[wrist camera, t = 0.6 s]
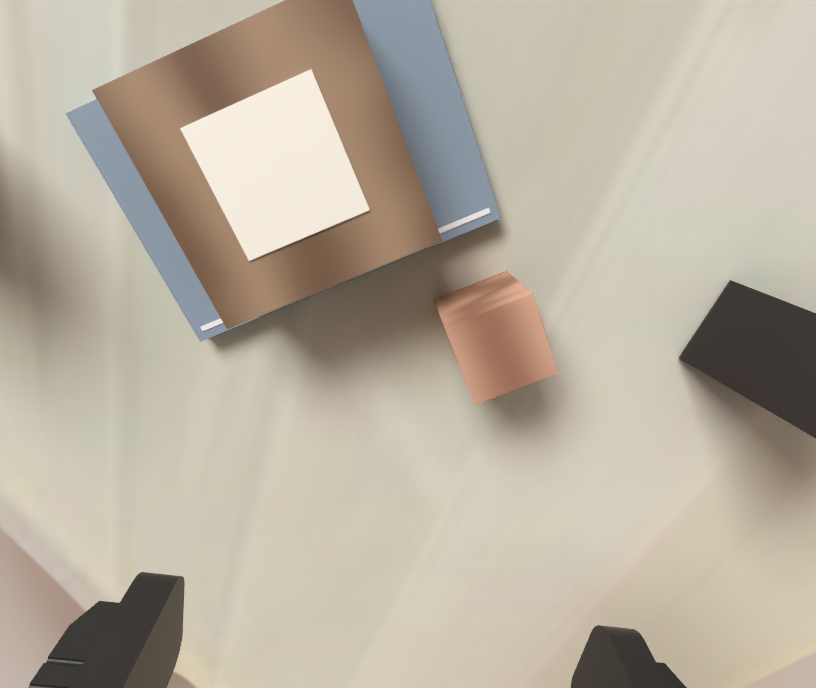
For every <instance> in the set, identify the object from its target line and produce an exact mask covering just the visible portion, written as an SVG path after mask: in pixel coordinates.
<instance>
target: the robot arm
mask: <svg viewBox="0 0 816 688" xmlns="http://www.w3.org/2000/svg"><path fill="white" fill-rule="evenodd" d="M183 607H184V578H183V577H182V576H173V575H164V574H155V573H146V572H141V573H139V574H138V575H137V576H136V578H135V579H134V580H133V582H132V584H131V585H130V587H129V589H128V590H127V592H126V594H125V595H124V597H123V599H122V600H121V602H120V603H114V602H105V601H99V602H98V603H96V604H95V605H94V606H93V607H91V608H90V609H89V610H88V611H87V612H85V613H84V614H83V615H82V616H80V617H79V618H78V619H77V620H76V621H74V622H73V623H72V624H71V625H70V626H69V627H68V628H67V630H66V631H65V633H64V634H63V636H62V637H61V639H60V640H59V642H58V643H57V645H56V646H55V648H54V649H53V651H52V652H51V653H50V655H49V656H48V660H47V662H46V663H44V664H43V665H42V666H41V668H40V669H39V671H38V672H37V674H36V675H35V677H34V678H33V680H32V681H31V683H30V686H29V688H166V687H167V685H168V682H169V680H170V678H171V675H172V673H173V670H174V668H175V665H176V662H177V658H178V655H179V651H180V646H181V641H182V633H183ZM571 688H686V687H685V686H684V684H683V683H682V682H681V681H680V680H679V679H678V678H677V677H676V675H675V674H674V673H673V672H672V671H671V670H670V669H669V668H668V667H667V665H666V664H665V663H657V662H655V660H654V658H653V656H652V654H651V652H650V650H649V648H648V646H647V644H646V642H645V641H644V639H643V637H642V636H641V634H640V633H639V632H638V631H636V630H634V629H626V628H617V627H609V626H600V625H598V626H596V627H594V628H593V630H592V632H591V634H590V637H589V639H588V641H587V644H586V646H585V648H584V651H583V653H582V655H581V658H580V660H579V663H578V665H577V667H576V670H575V672H574V674H573V677H572V682H571Z"/></svg>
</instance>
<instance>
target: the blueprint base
mask: <svg viewBox="0 0 816 688" xmlns="http://www.w3.org/2000/svg"><path fill="white" fill-rule="evenodd" d="M92 91H93V93H94V95H95V96H96V98H97V99H96V100H94V101H92V102H90V103H87V104H85V105H83V106H81V107H79V108H77V109H74V110H72V111H70V112H68V113H66V115H67V117H68V118H69V120H70V122H71V124H72V125H73V127H74V129H75V130H76V132H77V134H78V135H79V137H80V139H81V140H82V142H83V144H84V146H85V147H86V149H87V151H88V152H89V154H90V156H91V157H92V159H93V161H94V162H95V164H96V166H97V168H98V169H99V171H100V173H101V174H102V176H103V178H104V179H105V181H106V183H107V185H108V186H109V188H110V190H111V191H112V193H113V195H114V196H115V198H116V200H117V201H118V203H119V205H120V207H121V208H122V210H123V212H124V213H125V215H126V217H127V218H128V220H129V222H130V223H131V225H132V227H133V229H134V230H135V232H136V234H137V235H138V237H139V239H140V240H141V242H142V244H143V245H144V247H145V249H146V251H147V252H148V254H149V256H150V257H151V259H152V261H153V262H154V264H155V266H156V267H157V269H158V271H159V273H160V274H161V276H162V278H163V279H164V281H165V283H166V284H167V286H168V288H169V290H170V291H171V293H172V295H173V296H174V298H175V300H176V301H177V303H178V305H179V306H180V308H181V310H182V312H183V313H184V315H185V317H186V318H187V320H188V322H189V323H190V325H191V327H192V328H193V330H194V332H195V334H196V335H197V337H198V339H199V340H200V342H201V341H203V340H206V339H208V338H210V337H213V336H215V335H218V334H220V333H223V332H225V331H227V330H230V329H232V328H235V327H237V326H240V325H242V324H245V323H247V322H249V321H252V320H254V319H257V318H259V317H262V316H264V315H266V314H269V313H271V312H274V311H276V310H279V309H281V308H284V307H286V306H288V305H291V304H293V303H296V302H298V301H301V300H303V299H305V298H308V297H310V296H313V295H315V294H318V293H320V292H323V291H325V290H327V289H330V288H332V287H335V286H337V285H340V284H342V283H344V282H347V281H349V280H352V279H354V278H357V277H359V276H362V275H364V274H366V273H369V272H371V271H374V270H376V269H379V268H381V267H383V266H386V265H388V264H391V263H393V262H396V261H398V260H400V259H403V258H405V257H408V256H410V255H413V254H415V253H418V252H420V251H422V250H425V249H427V248H430V247H432V246H435V245H437V244H439V243H442V242H444V241H447V240H449V239H452V238H454V237H457V236H459V235H461V234H464V233H466V232H469V231H471V230H474V229H476V228H478V227H481V226H483V225H486V224H488V223H491V222H493V221H496V220H498V219H500V218H501V216H500V213H499V210H498V207H497V204H496V201H495V198H494V195H493V191H492V188H491V185H490V182H489V179H488V176H487V173H486V170H485V167H484V164H483V161H482V158H481V154H480V151H479V148H478V145H477V142H476V139H475V136H474V133H473V130H472V127H471V124H470V121H469V118H468V114H467V111H466V108H465V105H464V102H463V99H462V96H461V93H460V90H459V87H458V84H457V81H456V78H455V74H454V71H453V68H452V65H451V62H450V59H449V56H448V53H447V50H446V47H445V44H444V41H443V38H442V34H441V31H440V28H439V25H438V22H437V19H436V16H435V13H434V10H433V7H432V4H431V1H430V0H285V1H283V2H281V3H279V4H276V5H274V6H272V7H270V8H268V9H266V10H263V11H261V12H259V13H257V14H255V15H253V16H251V17H248V18H246V19H244V20H242V21H240V22H238V23H236V24H233V25H231V26H229V27H227V28H225V29H223V30H220V31H218V32H216V33H214V34H212V35H210V36H208V37H205V38H203V39H201V40H199V41H197V42H195V43H193V44H190V45H188V46H186V47H184V48H182V49H180V50H177V51H175V52H173V53H171V54H169V55H167V56H165V57H162V58H160V59H158V60H156V61H154V62H152V63H150V64H147V65H145V66H143V67H141V68H139V69H137V70H134V71H132V72H130V73H128V74H126V75H124V76H122V77H119V78H117V79H115V80H113V81H111V82H109V83H107V84H104V85H102V86H100V87H98V88H96V89H94V90H92Z"/></svg>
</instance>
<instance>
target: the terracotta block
mask: <svg viewBox="0 0 816 688" xmlns="http://www.w3.org/2000/svg"><path fill="white" fill-rule="evenodd" d="M434 302H435V305H436V307H437V310H438V312H439V315H440V318H441V320H442V323H443V325H444V328H445V331H446V333H447V336H448V338H449V341H450V343H451V346H452V348H453V351H454V353H455V356H456V358H457V361H458V363H459V366H460V368H461V371H462V373H463V376H464V379H465V381H466V384H467V386H468V389H469V391H470V394H471V396H472V399H473V401H474V404H475V405H477V404H479V403H482V402H485V401H487V400H490V399H493V398H495V397H498V396H500V395H503V394H506V393H508V392H511V391H514V390H516V389H519V388H522V387H524V386H527V385H529V384H532V383H535V382H537V381H540V380H543V379H545V378H548V377H551V376H553V375H556V374H558V371H557V368H556V365H555V362H554V359H553V356H552V353H551V349H550V346H549V343H548V340H547V337H546V334H545V331H544V328H543V324H542V321H541V318H540V315H539V312H538V309H537V306H536V303H535V299H534V296H533V294H532V293H531V292H530V291H529V290H528V289H527V288H525V287H524V286H523V285H522V284H521V283H520V282H518V281H517V280H516V279H515V278H514V277H513V276H512V275H510V274H509V273H508V272H507V271H505V272H502V273H500V274H497V275H495V276H492V277H490V278H487V279H485V280H482V281H480V282H477V283H475V284H472V285H470V286H467V287H465V288H462V289H460V290H457V291H455V292H452V293H450V294H447V295H445V296H442V297H440V298H437V299H435V300H434Z"/></svg>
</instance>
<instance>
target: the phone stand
mask: <svg viewBox="0 0 816 688" xmlns="http://www.w3.org/2000/svg"><path fill="white" fill-rule="evenodd" d="M679 358H680V359H682V360H683V361H685V362H687V363H689V364H690V365H692V366H694V367H695V368H697V369H699V370H700V371H702V372H704V373H706V374H707V375H709V376H711V377H712V378H714V379H716V380H718V381H719V382H721V383H723V384H724V385H726V386H728V387H729V388H731V389H733V390H735V391H736V392H738V393H740V394H741V395H743V396H745V397H746V398H748V399H750V400H752V401H753V402H755V403H757V404H758V405H760V406H762V407H763V408H765V409H767V410H769V411H770V412H772V413H774V414H775V415H777V416H779V417H780V418H782V419H784V420H786V421H787V422H789V423H791V424H792V425H794V426H796V427H797V428H799V429H801V430H803V431H804V432H806V433H808V434H809V435H811V436H813V437H814V438H816V313H813V312H811V311H808V310H805V309H803V308H800V307H798V306H795V305H793V304H790V303H787V302H785V301H782V300H780V299H777V298H775V297H772V296H769V295H767V294H764V293H762V292H759V291H757V290H754V289H752V288H749V287H746V286H744V285H741V284H739V283H736V282H734V281H731V280H730V281H729V283H728V284H727V286H726V287H725V289H724V290H723V292H722V293H721V295H720V296H719V298H718V299H717V301H716V302H715V304H714V305H713V307H712V308H711V310H710V311H709V313H708V314H707V316H706V317H705V319H704V320H703V322H702V323H701V325H700V326H699V328H698V329H697V331H696V332H695V334H694V335H693V337H692V338H691V340H690V342H689V343H688V345H687V346H686V348H685V349H684V351H683V352H682V354H681V355H680V357H679Z"/></svg>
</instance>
